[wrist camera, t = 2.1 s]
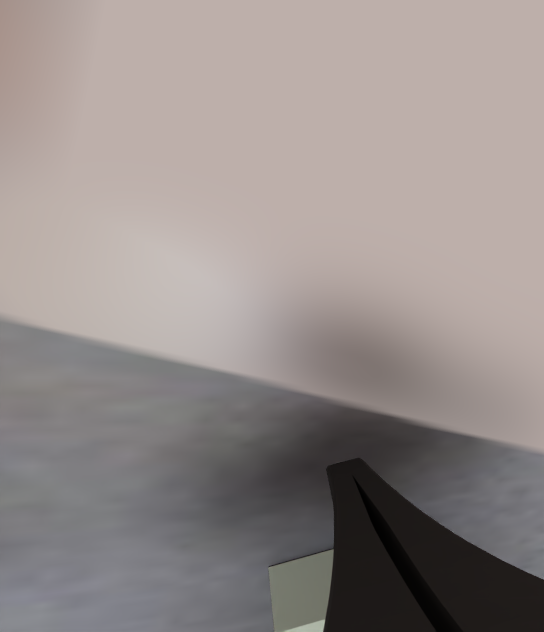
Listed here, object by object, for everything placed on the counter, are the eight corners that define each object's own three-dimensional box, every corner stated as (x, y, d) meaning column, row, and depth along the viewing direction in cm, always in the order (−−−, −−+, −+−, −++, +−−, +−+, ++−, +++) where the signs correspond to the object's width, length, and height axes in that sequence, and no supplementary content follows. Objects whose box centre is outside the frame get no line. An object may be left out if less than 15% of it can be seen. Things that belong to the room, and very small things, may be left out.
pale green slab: (447, 627, 16) (483, 695, 14) (297, 672, 16) (308, 749, 13) (435, 520, 15) (474, 575, 12) (268, 567, 14) (274, 634, 12)
